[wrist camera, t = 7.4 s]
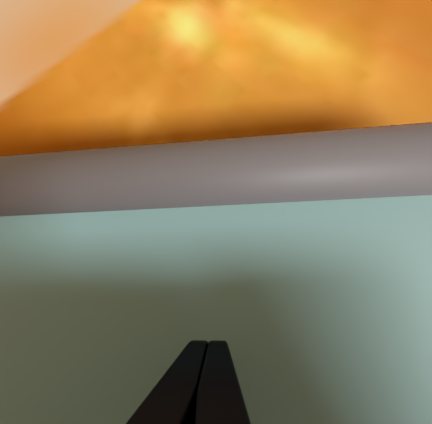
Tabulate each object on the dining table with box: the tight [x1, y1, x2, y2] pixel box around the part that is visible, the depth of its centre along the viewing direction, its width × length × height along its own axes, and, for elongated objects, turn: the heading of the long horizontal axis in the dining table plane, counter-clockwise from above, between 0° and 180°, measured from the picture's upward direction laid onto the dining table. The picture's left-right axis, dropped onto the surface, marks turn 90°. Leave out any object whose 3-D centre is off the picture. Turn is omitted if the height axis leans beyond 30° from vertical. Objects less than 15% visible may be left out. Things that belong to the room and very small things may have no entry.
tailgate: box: [0, 122, 432, 424], centre depth 9 cm, size 2×21×10 cm
